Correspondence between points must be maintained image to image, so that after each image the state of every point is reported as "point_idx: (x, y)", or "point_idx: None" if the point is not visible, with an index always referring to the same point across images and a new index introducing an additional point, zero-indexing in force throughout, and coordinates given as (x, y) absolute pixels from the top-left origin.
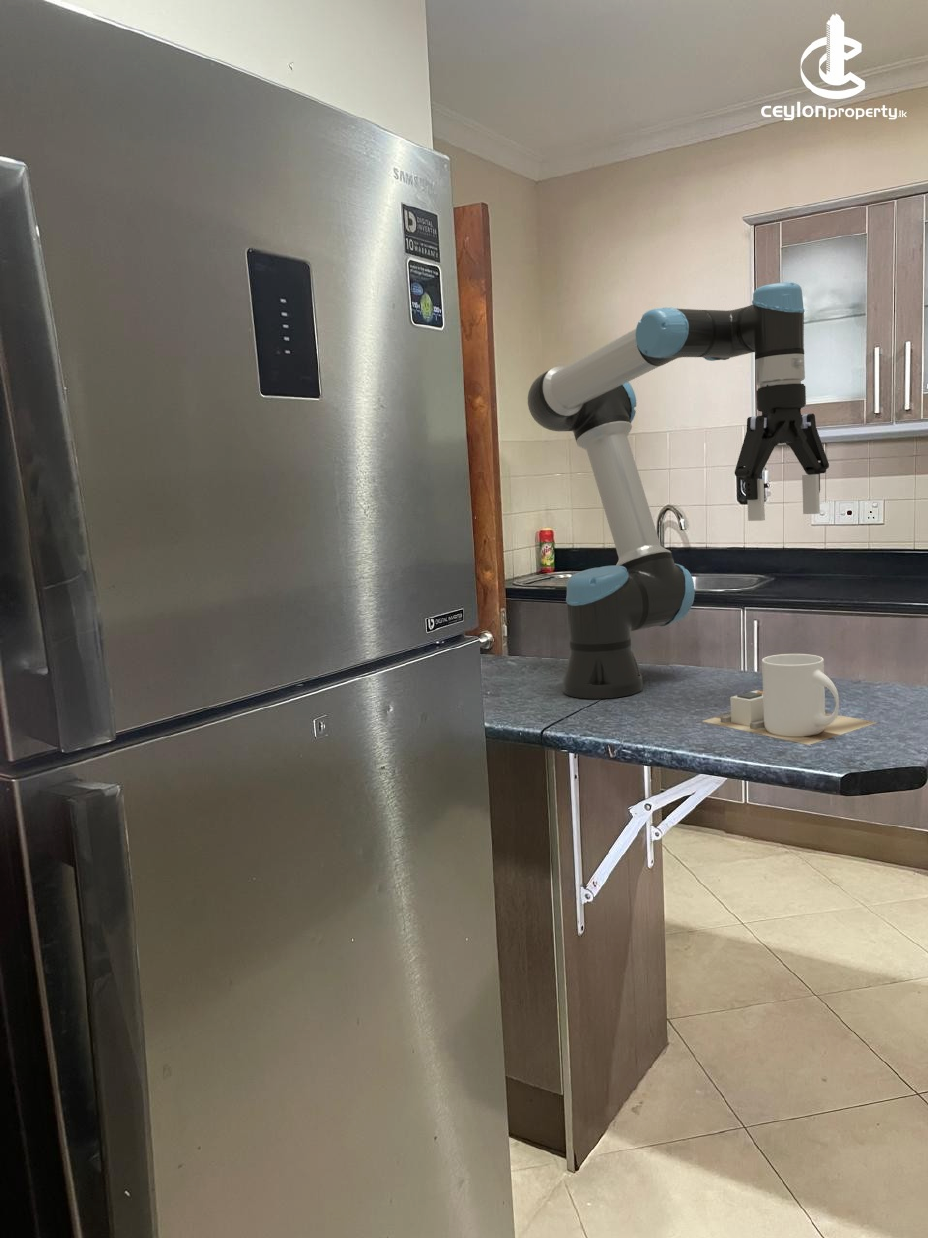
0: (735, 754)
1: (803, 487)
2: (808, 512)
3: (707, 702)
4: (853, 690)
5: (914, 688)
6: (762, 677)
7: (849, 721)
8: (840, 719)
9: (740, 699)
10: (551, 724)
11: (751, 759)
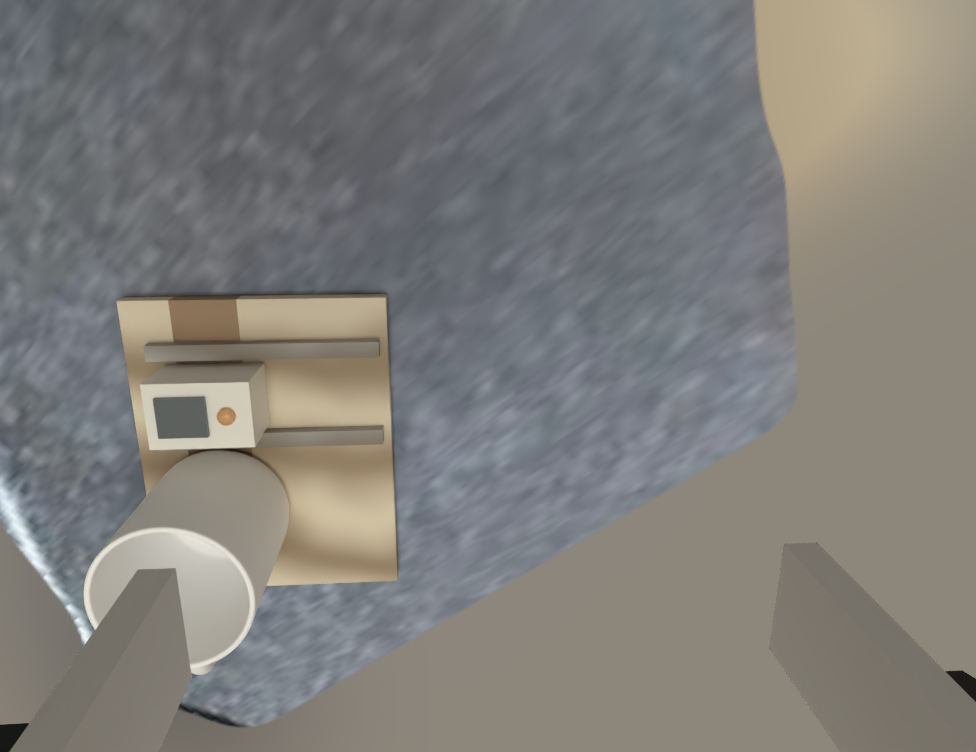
0: (45, 492)
1: (911, 700)
2: (783, 591)
3: (332, 102)
4: (686, 320)
5: (780, 415)
6: (121, 526)
7: (364, 539)
8: (365, 517)
9: (145, 417)
10: None
11: (48, 535)
